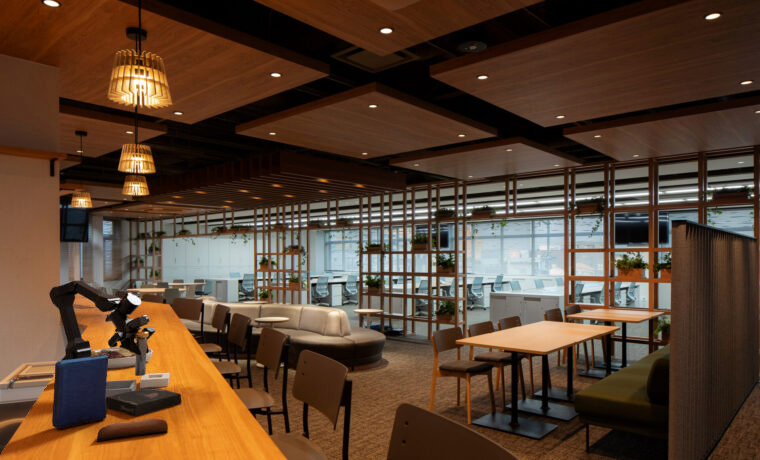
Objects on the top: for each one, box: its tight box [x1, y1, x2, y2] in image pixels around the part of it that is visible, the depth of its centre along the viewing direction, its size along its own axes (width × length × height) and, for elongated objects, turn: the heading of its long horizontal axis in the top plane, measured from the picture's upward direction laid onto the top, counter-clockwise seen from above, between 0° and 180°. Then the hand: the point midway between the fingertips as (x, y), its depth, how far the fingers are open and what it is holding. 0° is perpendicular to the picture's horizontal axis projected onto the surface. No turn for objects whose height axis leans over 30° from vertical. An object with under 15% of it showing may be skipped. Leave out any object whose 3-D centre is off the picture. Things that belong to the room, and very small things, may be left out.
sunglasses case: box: [96, 418, 169, 443], centre depth 142 cm, size 18×7×7 cm, turn 118°
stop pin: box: [134, 331, 149, 377], centre depth 189 cm, size 4×4×16 cm
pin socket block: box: [139, 372, 171, 389], centre depth 197 cm, size 10×10×3 cm
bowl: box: [90, 346, 154, 370], centre depth 233 cm, size 30×30×8 cm
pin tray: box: [105, 379, 137, 400], centre depth 180 cm, size 14×14×4 cm
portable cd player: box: [106, 387, 183, 418], centre depth 168 cm, size 16×17×4 cm
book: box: [51, 354, 108, 430], centre depth 149 cm, size 14×5×20 cm, turn 141°
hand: (144, 353), depth 189 cm, fingers closed on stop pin, 4 cm apart
